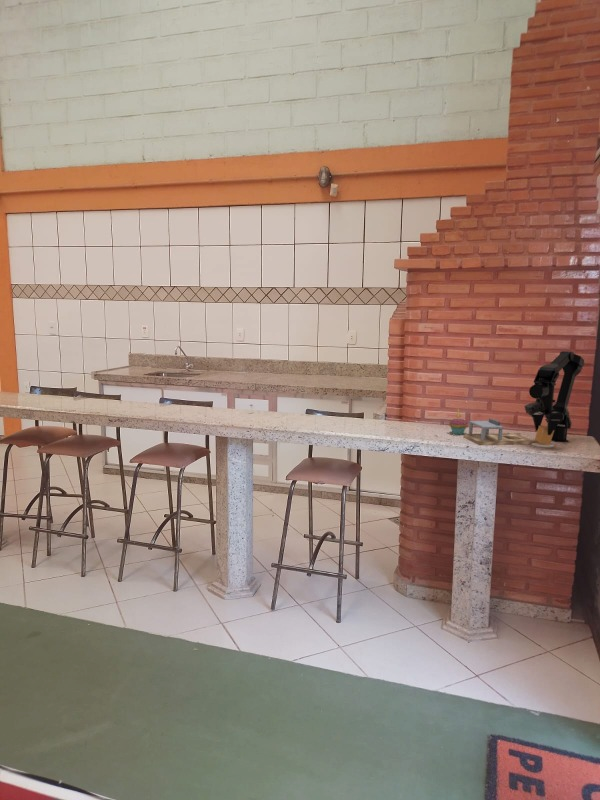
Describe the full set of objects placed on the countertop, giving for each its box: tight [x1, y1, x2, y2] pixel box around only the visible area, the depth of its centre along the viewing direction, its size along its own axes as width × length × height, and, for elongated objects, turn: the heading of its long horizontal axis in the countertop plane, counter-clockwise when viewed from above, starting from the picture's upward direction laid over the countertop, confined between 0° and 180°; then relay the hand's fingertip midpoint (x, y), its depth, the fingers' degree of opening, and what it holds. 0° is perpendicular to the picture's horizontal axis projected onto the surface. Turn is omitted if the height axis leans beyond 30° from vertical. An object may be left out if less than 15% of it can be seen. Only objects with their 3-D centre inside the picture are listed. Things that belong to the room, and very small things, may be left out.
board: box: [462, 432, 539, 446], centre depth 252 cm, size 27×16×2 cm, turn 98°
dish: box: [530, 442, 555, 448], centre depth 245 cm, size 9×9×1 cm
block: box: [534, 425, 554, 445], centre depth 244 cm, size 4×4×6 cm
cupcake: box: [448, 407, 469, 436], centre depth 265 cm, size 9×8×12 cm
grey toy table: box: [468, 418, 504, 441], centre depth 250 cm, size 9×14×8 cm, turn 8°
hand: (543, 432), depth 244 cm, fingers open, 9 cm apart
